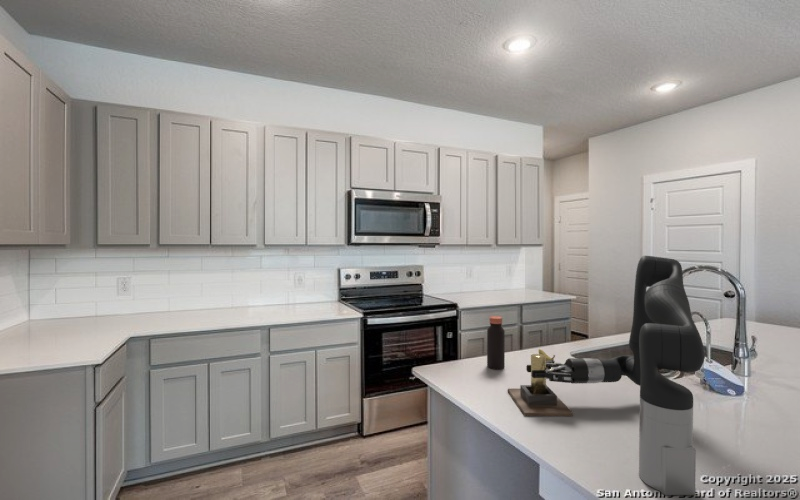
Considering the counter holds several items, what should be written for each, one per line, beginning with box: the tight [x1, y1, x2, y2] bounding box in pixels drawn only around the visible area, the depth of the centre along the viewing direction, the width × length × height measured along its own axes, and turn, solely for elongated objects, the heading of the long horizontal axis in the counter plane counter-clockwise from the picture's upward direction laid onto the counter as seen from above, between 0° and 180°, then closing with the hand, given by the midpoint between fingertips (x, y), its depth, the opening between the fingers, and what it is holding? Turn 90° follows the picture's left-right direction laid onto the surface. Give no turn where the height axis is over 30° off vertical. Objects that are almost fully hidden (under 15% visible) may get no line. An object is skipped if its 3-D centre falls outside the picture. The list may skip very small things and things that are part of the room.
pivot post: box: [530, 353, 547, 394], centre depth 120 cm, size 4×4×12 cm
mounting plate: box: [507, 384, 574, 417], centre depth 120 cm, size 18×14×4 cm
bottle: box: [486, 315, 506, 370], centre depth 154 cm, size 7×7×20 cm
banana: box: [538, 348, 556, 361], centre depth 161 cm, size 10×2×4 cm, turn 15°
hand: (529, 371), depth 120 cm, fingers closed on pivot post, 4 cm apart
